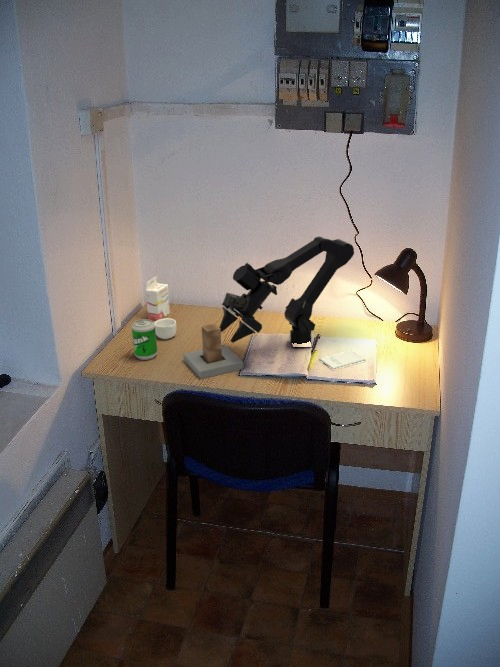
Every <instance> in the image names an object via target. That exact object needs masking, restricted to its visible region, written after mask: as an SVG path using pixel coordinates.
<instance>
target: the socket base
mask: <svg viewBox="0 0 500 667" xmlns="http://www.w3.org/2000/svg"><path fill="white" fill-rule="evenodd" d="M221 349H222V361H218V362H213V363H209V364H207V363H206V362H205V361H204V359H203V348H202V349H198V350H193V351H190V352H189V351H188V352H184V353H183V354H182V356H183V361H184V363H185V364H186V365H187V366H188V367H189V368H190V370H192V371H193V373H194V374H195V375H196V376H197V377H198V378H199V379H200V380H204V379H207V378H211V377H215V376H220V375H224V374H228V373H233V372H236V371H240V370H243V369H244V361H243V360H242V359H241V358H240V357H238V356H237V355H236V354H235V353H234V352H233V351H232V350H231V349H230V348H229V347H227V345H225V344H221Z"/></svg>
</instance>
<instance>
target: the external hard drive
mask: <svg viewBox="0 0 500 667" xmlns="http://www.w3.org/2000/svg"><path fill="white" fill-rule="evenodd" d="M319 360H320V361H322V362H323V363H325V364H326V365H325V366H327V365H328V366H329V367H331V368H332V369H336V368H339V367H343V366H346V365H349V364H354V363H358V362H361V361H365V362H366V358H365V357H363V356H362V355H360V354H358V353H357V352H356V351H354V350H352V349H348V350H345V351H342V352H338V353H335V354H334V353H333V354H330V355H327V356H323V357H320V358H318V361H319ZM320 361H319V362H320ZM322 362H321V363H322ZM323 363H322V364H323ZM329 367H328V368H329Z"/></svg>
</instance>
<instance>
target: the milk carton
mask: <svg viewBox="0 0 500 667" xmlns="http://www.w3.org/2000/svg"><path fill="white" fill-rule="evenodd" d="M169 295H170V294H169V284H166V283H159V282H158V275H156V276H154V277H152V278H151V279H149V280H148V281H146V282H145V296H146V307H147V308H146V309H147V318H148V320H151V321H157V320H159V319H164V318H165V317H166V316H168V315H169V314H170V312H171V311H170V296H169ZM167 314H168V315H167ZM163 317H164V318H163Z"/></svg>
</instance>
